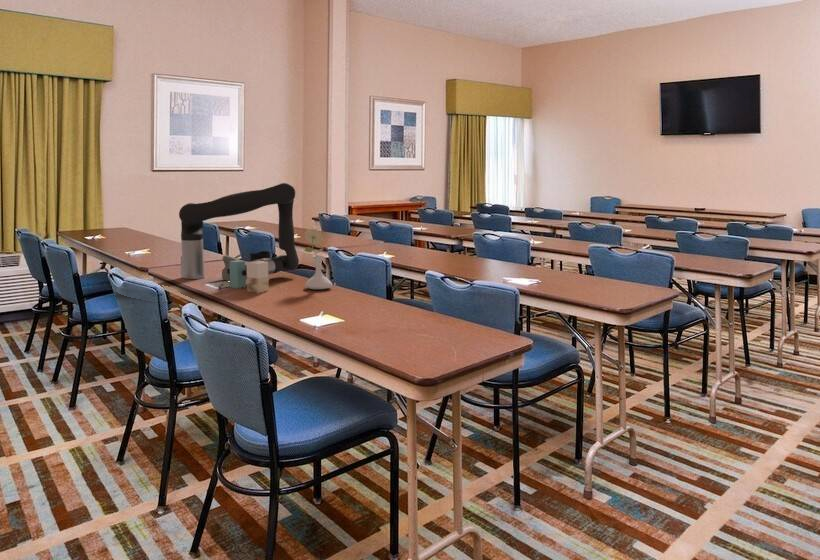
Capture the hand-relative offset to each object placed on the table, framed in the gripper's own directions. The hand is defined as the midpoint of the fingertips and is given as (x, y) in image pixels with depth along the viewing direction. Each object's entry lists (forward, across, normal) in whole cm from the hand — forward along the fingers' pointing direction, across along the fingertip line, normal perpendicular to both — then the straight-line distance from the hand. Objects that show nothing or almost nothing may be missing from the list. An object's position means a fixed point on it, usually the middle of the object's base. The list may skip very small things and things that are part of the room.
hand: (235, 272), depth 272 cm
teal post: (-1, 0, +6) cm, 7 cm away
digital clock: (-13, -13, +7) cm, 20 cm away
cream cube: (+1, +13, +1) cm, 13 cm away
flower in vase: (-17, +29, +7) cm, 34 cm away
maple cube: (+1, +13, +7) cm, 15 cm away
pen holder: (-33, -17, +7) cm, 38 cm away
